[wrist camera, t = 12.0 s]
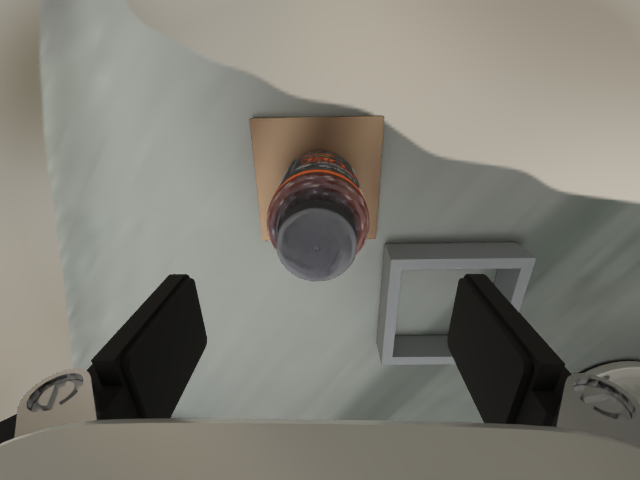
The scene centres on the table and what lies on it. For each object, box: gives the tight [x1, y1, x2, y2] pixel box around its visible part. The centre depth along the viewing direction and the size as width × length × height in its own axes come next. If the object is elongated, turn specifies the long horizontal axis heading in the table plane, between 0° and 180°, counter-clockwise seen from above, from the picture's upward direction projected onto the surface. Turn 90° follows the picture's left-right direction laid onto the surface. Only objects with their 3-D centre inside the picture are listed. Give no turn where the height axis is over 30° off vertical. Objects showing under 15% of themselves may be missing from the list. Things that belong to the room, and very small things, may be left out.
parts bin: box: [377, 242, 536, 365], centre depth 29 cm, size 12×12×3 cm
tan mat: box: [249, 116, 384, 240], centre depth 25 cm, size 10×10×1 cm
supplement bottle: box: [267, 150, 370, 281], centre depth 20 cm, size 6×6×11 cm
